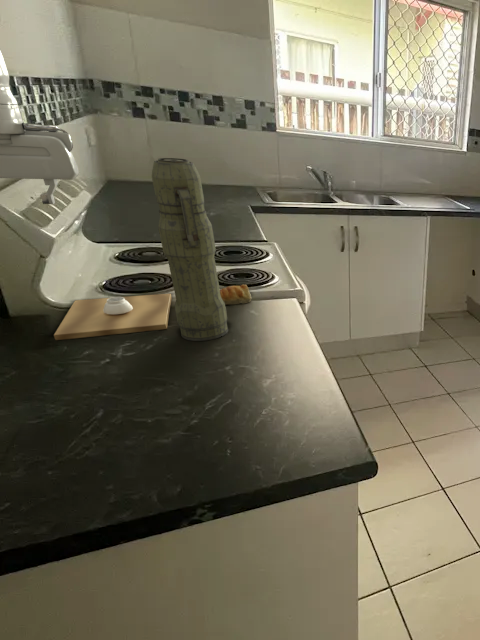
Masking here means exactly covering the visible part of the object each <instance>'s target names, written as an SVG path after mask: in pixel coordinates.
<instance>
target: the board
mask: <svg viewBox="0 0 480 640" xmlns="http://www.w3.org/2000/svg"><path fill="white" fill-rule="evenodd" d="M123 297H124V298H125V300H127V301H128V302H129V303H130V304H131V305H132V307H133V309H132V310H131V311H129V312H127V313H124V314H118V315H111V314H106V313H104V311H103V309H104V306H105V303H106V302H107V299H109V298H110V297H102V298H88V299H75V300H74V301H73V303H72V305H71V306H70V308H69V310H68V311H67V313H66V314H65V316H64V317H63V319H62V321H61V322H60V324H59V326H58V327H57V329H56V330H55V332H54V334H53V337H54V339H55V341H61V340H62V341H64V340H72V339H83V338H91V337H93V338H94V337H103V336H113V335H122V334H132V333H141V332H143V333H144V332H152V331H160V330H161V331H162V330H168V324H169V316H170V312H171V305H172V299H173V297H172V294H171V293H159V294H158V293H157V294H145V295H144V294H143V295H129V296H123Z"/></svg>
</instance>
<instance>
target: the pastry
mask: <svg viewBox="0 0 480 640" xmlns="http://www.w3.org/2000/svg"><path fill="white" fill-rule="evenodd" d="M220 295H221V298H222V300H223V301H224V303H225V306H228V305H240V304H241V305H242V304H243V305H244V304H248V303H250V302H251V301H252V294H251V292H250V289H249V287H248V285H247V284H241V285H229V286H226V287H223V288H221V289H220Z"/></svg>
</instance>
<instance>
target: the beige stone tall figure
mask: <svg viewBox="0 0 480 640" xmlns="http://www.w3.org/2000/svg"><path fill="white" fill-rule="evenodd" d="M151 180H152V185H153V189H154V190H153V191H154V195H155V200H156V204H158V207H159V210H158V214H159V221H158V224H157V225H158V226H157V228H158V232H159V238H160V242H161V243H160V244H161V247H162V252H163V253H162V254H163V255H164V256H165V257H166V258H167V262H168V267H169V273H170V278H171V282H172V287H173V292H174V297H175V302H174V313H175V317H176V322H177V326H178V327H179V329H180V336H181V337H182V339H184V340H186V341H192V342H205V341H211V340H215V339H218V338H221V336H222V337H224V336H225V335H227V334H228V333H229V326H228V313H227V308H226V305H225V303H224V301H223V300H222V298H221V295H220V290H221V289H220V284H219V277H218V271H217V266H216V265H217V264H216V258H215V255H216V252H217V249H216V242H215V237H214V236H215V235H214V231H213V230H214V229H213V224H212V222H211V221H210V220H209V217H208V216H207V210H206V209H205V197H204V191H203V186H202V185H203V184H202V180H201V175H200V173H199V171H198V169H197V167H196V166H195V163H194V162H193V161H189V159H186V158H178V157H175V158H174V157H160V158H158V159H157V160H153V165H152V170H151Z"/></svg>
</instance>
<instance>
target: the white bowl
mask: <svg viewBox="0 0 480 640" xmlns="http://www.w3.org/2000/svg"><path fill="white" fill-rule="evenodd" d="M124 297H125V296H113V297H108V298H109V299H107V302H106V303H105V306H104V309H103V311H104V313H106V314H111V315H118V314H124V313H127V312H129V311H131V310H132V309H133V307H132V305H131V304H130V303H129V302H128V301H127V300H125V298H124Z"/></svg>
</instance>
